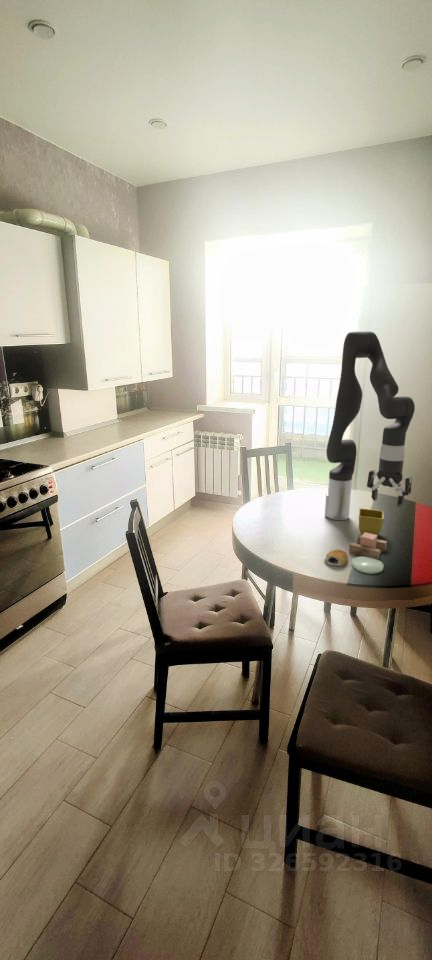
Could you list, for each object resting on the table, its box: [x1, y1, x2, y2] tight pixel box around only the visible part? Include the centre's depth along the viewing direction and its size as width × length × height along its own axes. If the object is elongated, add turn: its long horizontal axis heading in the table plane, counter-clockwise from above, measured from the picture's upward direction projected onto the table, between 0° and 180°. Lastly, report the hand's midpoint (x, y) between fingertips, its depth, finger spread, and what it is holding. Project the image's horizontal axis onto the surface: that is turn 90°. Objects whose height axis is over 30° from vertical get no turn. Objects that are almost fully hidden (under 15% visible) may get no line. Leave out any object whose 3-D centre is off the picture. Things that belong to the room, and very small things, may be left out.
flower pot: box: [358, 508, 385, 537], centre depth 168 cm, size 9×9×9 cm
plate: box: [351, 556, 384, 575], centre depth 146 cm, size 10×10×1 cm
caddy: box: [348, 534, 388, 560], centre depth 156 cm, size 10×10×3 cm
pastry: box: [323, 549, 348, 567], centre depth 150 cm, size 9×7×4 cm
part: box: [360, 532, 378, 549], centre depth 156 cm, size 4×4×6 cm
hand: (386, 502), depth 152 cm, fingers open, 8 cm apart
